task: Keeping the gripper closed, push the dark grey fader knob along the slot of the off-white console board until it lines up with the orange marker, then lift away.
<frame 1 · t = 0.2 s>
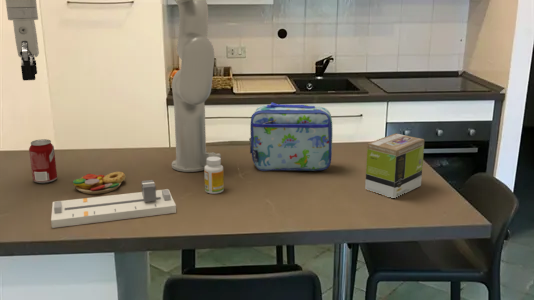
hand: (30, 77, 150), 31 cm above the table, tool pointing down, fingers open, 9 cm apart
console board: (114, 210, 140), on the table
fader knob: (148, 190, 141), point 5 cm above the table, slide at -9.0 cm
supplement bottle: (214, 191, 154), on the table
toy food set: (99, 188, 156), on the table
lunch box: (290, 168, 173), on the table
soda can: (45, 181, 160), on the table
tea box: (392, 189, 157), on the table
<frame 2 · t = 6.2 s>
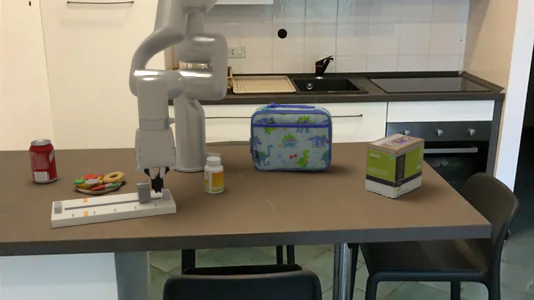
hand: (157, 191, 142), 4 cm above the table, tool pointing down, fingers closed
fader knob: (143, 191, 141), point 5 cm above the table, slide at -7.7 cm, touching gripper
everything else where it was.
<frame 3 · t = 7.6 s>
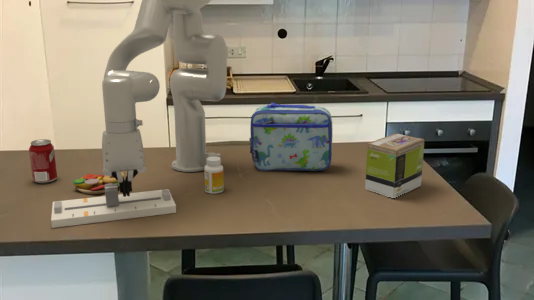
hand: (126, 194, 139), 4 cm above the table, tool pointing down, fingers closed
fader knob: (111, 194, 138), point 5 cm above the table, slide at 0.4 cm, touching gripper
everything else where it was.
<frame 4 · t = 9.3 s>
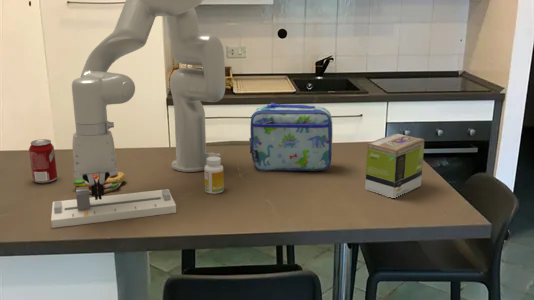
hand: (98, 197, 137), 4 cm above the table, tool pointing down, fingers closed
fader knob: (83, 197, 136), point 5 cm above the table, slide at 7.4 cm, touching gripper
everything else where it was.
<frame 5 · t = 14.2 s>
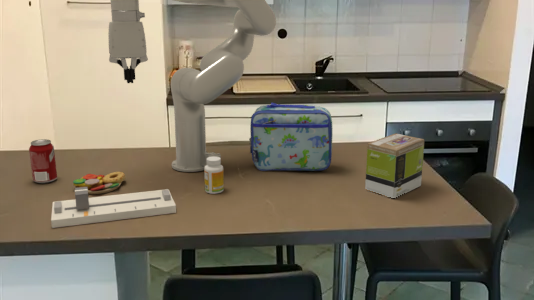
hand: (130, 82, 155), 29 cm above the table, tool pointing down, fingers closed
fader knob: (82, 197, 136), point 5 cm above the table, slide at 7.6 cm
everything else where it was.
at the end: fader knob slide at 7.6 cm; toy food set moved 0.5 cm from its start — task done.
